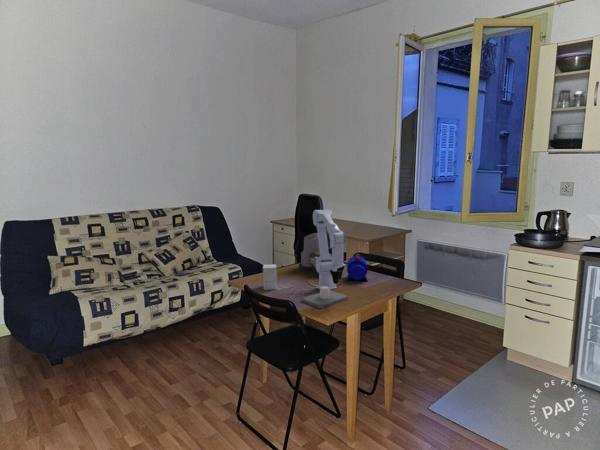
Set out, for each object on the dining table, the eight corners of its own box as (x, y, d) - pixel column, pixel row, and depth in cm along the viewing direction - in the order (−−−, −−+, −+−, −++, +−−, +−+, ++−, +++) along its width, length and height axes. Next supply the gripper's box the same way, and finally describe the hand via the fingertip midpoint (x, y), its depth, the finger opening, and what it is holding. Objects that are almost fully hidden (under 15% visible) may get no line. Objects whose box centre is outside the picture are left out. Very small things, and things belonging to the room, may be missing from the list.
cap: (319, 295, 216) (319, 286, 215) (328, 295, 216) (328, 286, 215) (320, 299, 211) (320, 289, 210) (330, 298, 211) (330, 289, 211)
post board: (328, 292, 226) (328, 283, 225) (348, 298, 215) (348, 289, 215) (301, 301, 212) (301, 291, 211) (320, 308, 202) (320, 298, 201)
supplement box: (276, 285, 238) (276, 264, 235) (276, 289, 230) (276, 267, 228) (263, 285, 237) (263, 264, 235) (263, 289, 230) (262, 267, 228)
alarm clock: (366, 276, 255) (367, 252, 252) (368, 282, 243) (368, 257, 240) (346, 276, 256) (347, 252, 253) (347, 282, 244) (347, 257, 241)
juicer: (293, 267, 276) (293, 231, 272) (313, 263, 284) (313, 228, 280) (319, 278, 251) (319, 238, 247) (340, 274, 260) (341, 236, 255)
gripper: (342, 259, 204) (342, 286, 206) (348, 252, 217) (347, 278, 220) (328, 258, 206) (328, 284, 208) (334, 252, 219) (334, 276, 222)
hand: (337, 281), depth 214 cm, fingers open, 7 cm apart
